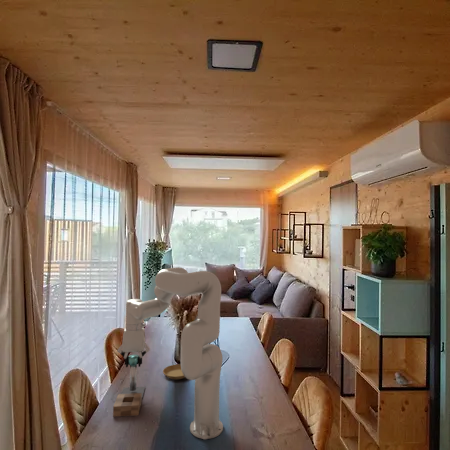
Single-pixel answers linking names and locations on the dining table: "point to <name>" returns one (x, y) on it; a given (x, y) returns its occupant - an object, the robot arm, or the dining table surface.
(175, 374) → the plant saucer
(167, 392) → the dining table surface
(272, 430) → the dining table surface
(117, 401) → the eye block
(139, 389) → the rubber pad
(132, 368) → the teal capped rod
